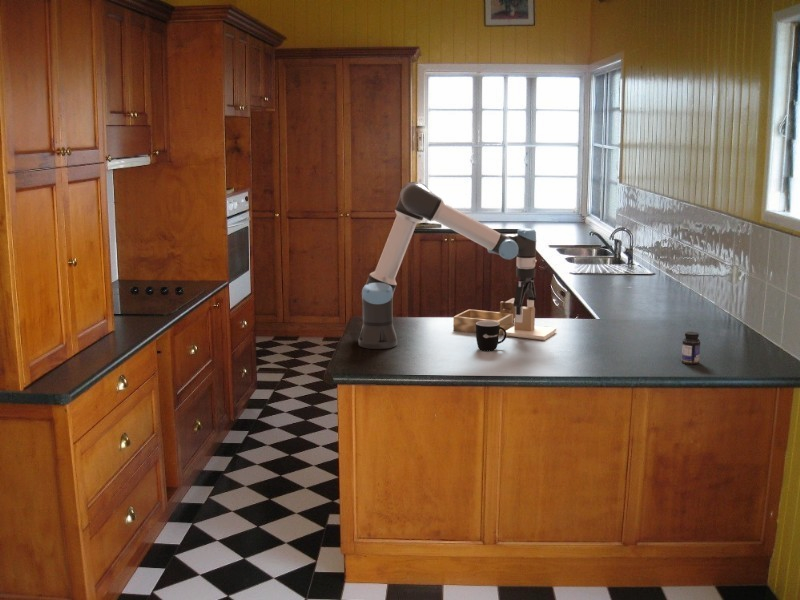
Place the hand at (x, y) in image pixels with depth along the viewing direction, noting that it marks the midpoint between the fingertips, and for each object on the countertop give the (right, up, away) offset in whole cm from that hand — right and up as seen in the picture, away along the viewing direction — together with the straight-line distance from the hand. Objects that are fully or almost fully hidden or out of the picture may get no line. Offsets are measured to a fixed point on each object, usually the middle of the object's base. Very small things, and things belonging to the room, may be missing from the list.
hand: (524, 319), depth 359 cm
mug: (-16, -11, -22) cm, 29 cm away
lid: (+2, -6, 0) cm, 6 cm away
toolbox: (-15, -4, +10) cm, 19 cm away
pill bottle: (+53, -15, -42) cm, 70 cm away
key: (-2, +5, +19) cm, 20 cm away
